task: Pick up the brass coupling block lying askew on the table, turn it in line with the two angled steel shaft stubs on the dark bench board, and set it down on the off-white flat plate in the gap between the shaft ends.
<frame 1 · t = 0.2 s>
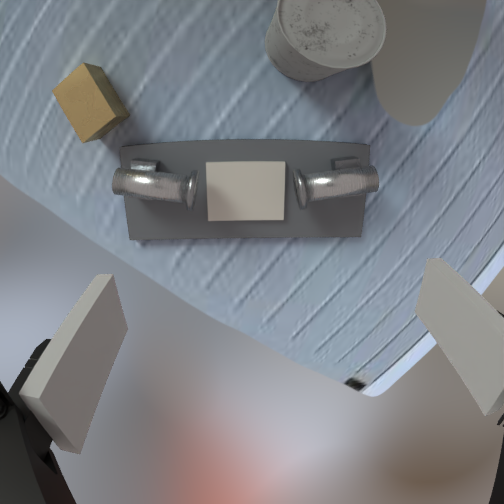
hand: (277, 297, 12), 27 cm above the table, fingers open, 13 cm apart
off-white flat plate: (245, 190, 37), resting on bench board
shaft a: (162, 178, 36), resting on bench board
speckled tin can: (305, 45, 31), on the table
shaft b: (328, 177, 37), resting on bench board
coupler: (99, 102, 33), on the table
bench board: (245, 188, 38), on the table
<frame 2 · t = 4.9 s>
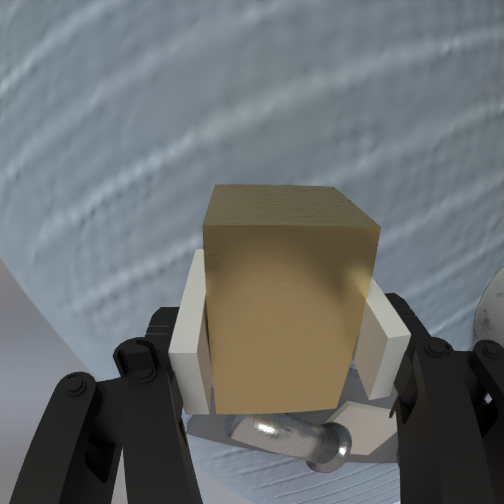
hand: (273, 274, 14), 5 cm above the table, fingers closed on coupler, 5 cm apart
off-white flat plate: (358, 429, 26), resting on bench board
shaft a: (282, 401, 23), resting on bench board
coupler: (271, 270, 15), point 4 cm above the table, touching gripper
bench board: (355, 420, 27), on the table
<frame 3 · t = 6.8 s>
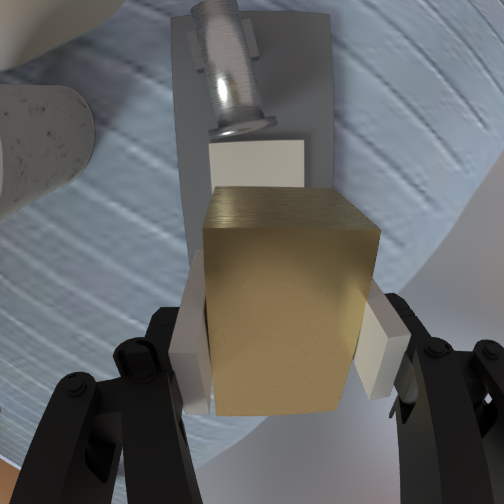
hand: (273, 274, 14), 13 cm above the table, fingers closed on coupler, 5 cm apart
off-white flat plate: (258, 197, 25), resting on bench board
speckled tin can: (51, 136, 23), on the table
shaft b: (229, 72, 21), resting on bench board
coupler: (272, 272, 15), point 12 cm above the table, touching gripper
bench board: (257, 193, 26), on the table
when the fingers open (2 cm above the table, at t = 8.9 s): coupler stays where it is, resting on off-white flat plate.
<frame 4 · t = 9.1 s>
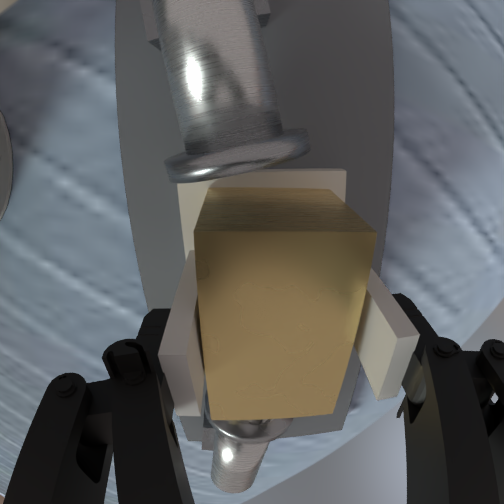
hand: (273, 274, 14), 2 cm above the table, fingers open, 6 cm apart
off-white flat plate: (264, 265, 15), resting on bench board
shaft a: (238, 401, 19), resting on bench board
shaft b: (214, 47, 11), resting on bench board
coupler: (266, 274, 14), point 2 cm above the table, touching gripper, off-white flat plate
bench board: (262, 254, 16), on the table
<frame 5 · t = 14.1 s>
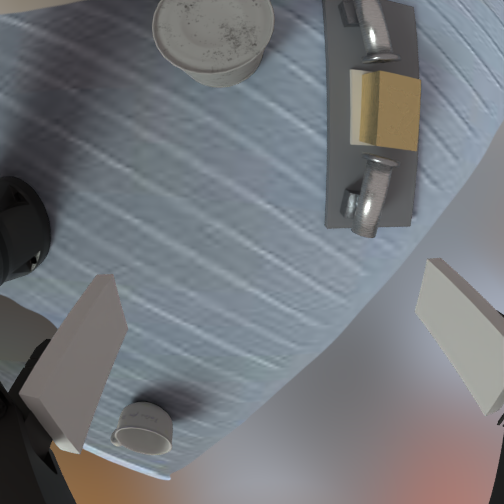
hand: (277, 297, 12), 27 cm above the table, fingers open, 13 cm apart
off-white flat plate: (377, 109, 33), resting on bench board
shaft a: (361, 188, 37), resting on bench board
speckled tin can: (221, 49, 31), on the table
shaft b: (361, 30, 28), resting on bench board
teacup: (143, 411, 55), on the table
coupler: (380, 110, 32), point 2 cm above the table, touching off-white flat plate
bench board: (373, 108, 34), on the table
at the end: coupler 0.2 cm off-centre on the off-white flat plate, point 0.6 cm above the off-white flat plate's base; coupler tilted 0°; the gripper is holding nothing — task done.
